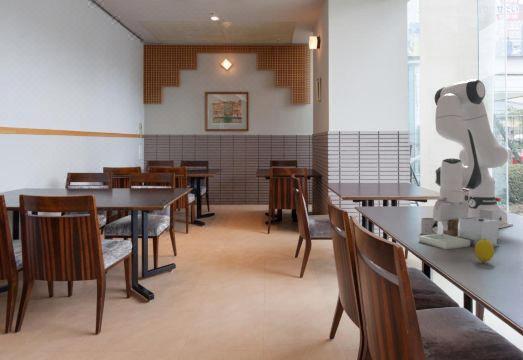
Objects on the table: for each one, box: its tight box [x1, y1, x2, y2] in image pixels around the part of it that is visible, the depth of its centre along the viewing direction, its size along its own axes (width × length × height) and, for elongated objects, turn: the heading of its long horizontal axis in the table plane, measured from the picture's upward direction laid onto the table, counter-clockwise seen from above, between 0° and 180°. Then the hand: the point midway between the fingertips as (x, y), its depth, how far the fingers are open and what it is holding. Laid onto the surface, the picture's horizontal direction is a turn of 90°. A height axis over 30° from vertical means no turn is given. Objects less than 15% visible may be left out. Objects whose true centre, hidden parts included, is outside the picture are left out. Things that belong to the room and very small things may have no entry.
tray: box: [418, 233, 471, 250], centre depth 165 cm, size 12×14×2 cm
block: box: [442, 219, 459, 237], centre depth 178 cm, size 4×4×7 cm
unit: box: [459, 217, 500, 248], centre depth 163 cm, size 9×11×11 cm
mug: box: [420, 217, 439, 236], centre depth 186 cm, size 10×7×7 cm, turn 147°
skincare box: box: [479, 209, 500, 240], centre depth 174 cm, size 6×4×12 cm
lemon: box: [474, 239, 495, 264], centre depth 137 cm, size 6×6×8 cm
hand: (450, 229), depth 179 cm, fingers closed on block, 4 cm apart
